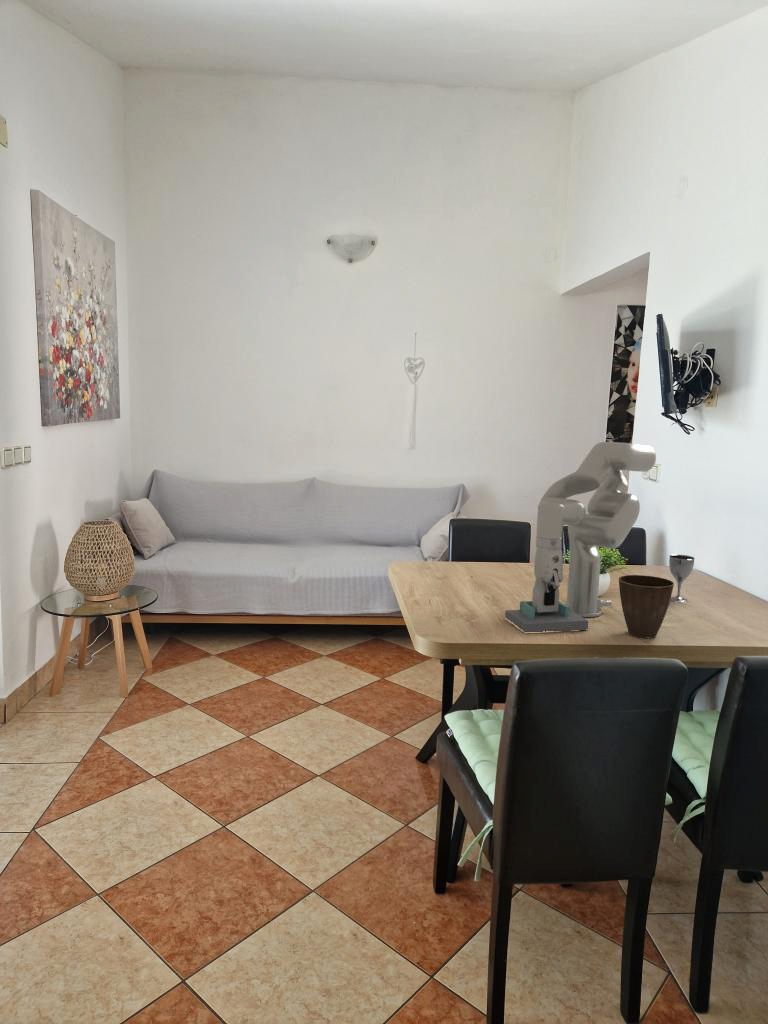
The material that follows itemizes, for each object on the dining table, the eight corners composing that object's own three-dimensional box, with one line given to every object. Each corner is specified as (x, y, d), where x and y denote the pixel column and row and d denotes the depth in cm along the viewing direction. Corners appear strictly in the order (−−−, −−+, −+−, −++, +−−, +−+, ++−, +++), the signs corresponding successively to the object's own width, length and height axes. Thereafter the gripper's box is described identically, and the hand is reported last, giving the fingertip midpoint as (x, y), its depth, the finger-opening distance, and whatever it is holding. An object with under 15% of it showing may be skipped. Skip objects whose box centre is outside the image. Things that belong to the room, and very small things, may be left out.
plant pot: (605, 633, 210) (609, 579, 208) (629, 623, 221) (633, 572, 219) (655, 646, 200) (659, 589, 198) (678, 635, 210) (682, 581, 208)
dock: (564, 616, 226) (565, 598, 225) (587, 630, 213) (589, 610, 212) (505, 619, 221) (505, 600, 220) (524, 634, 208) (525, 613, 207)
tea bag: (558, 611, 217) (560, 578, 215) (537, 612, 215) (539, 579, 213) (551, 607, 220) (553, 575, 219) (531, 609, 218) (533, 576, 217)
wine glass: (664, 600, 249) (668, 557, 247) (667, 595, 256) (670, 553, 254) (689, 603, 246) (693, 560, 243) (691, 598, 253) (695, 556, 250)
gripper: (574, 548, 207) (570, 610, 210) (547, 537, 223) (544, 595, 226) (550, 548, 206) (546, 611, 208) (525, 538, 222) (522, 596, 224)
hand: (545, 602), depth 217 cm, fingers closed on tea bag, 3 cm apart
